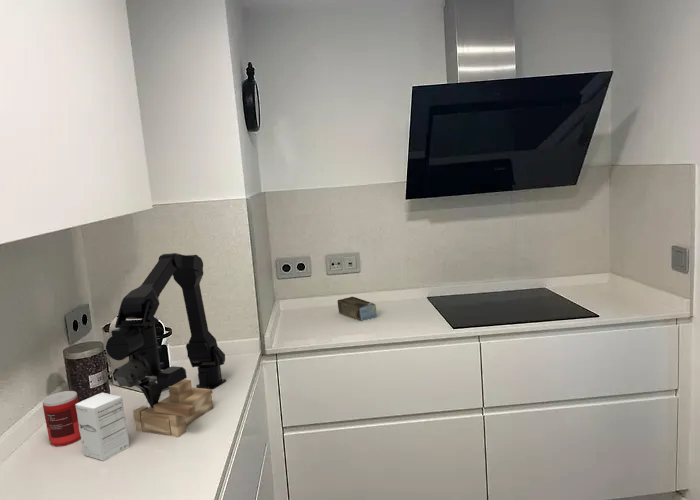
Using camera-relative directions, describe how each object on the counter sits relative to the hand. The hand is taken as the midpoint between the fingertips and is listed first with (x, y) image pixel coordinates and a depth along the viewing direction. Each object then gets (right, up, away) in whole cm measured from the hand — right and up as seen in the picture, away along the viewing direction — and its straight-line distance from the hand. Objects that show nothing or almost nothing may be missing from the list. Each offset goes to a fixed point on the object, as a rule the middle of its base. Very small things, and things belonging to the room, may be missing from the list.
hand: (154, 407), depth 135 cm
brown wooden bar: (+6, 0, -3) cm, 6 cm away
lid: (+4, -1, +6) cm, 7 cm away
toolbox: (+4, -5, +6) cm, 9 cm away
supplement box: (-8, -8, -8) cm, 14 cm away
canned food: (-22, -8, +1) cm, 23 cm away
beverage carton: (+51, +11, +92) cm, 106 cm away
